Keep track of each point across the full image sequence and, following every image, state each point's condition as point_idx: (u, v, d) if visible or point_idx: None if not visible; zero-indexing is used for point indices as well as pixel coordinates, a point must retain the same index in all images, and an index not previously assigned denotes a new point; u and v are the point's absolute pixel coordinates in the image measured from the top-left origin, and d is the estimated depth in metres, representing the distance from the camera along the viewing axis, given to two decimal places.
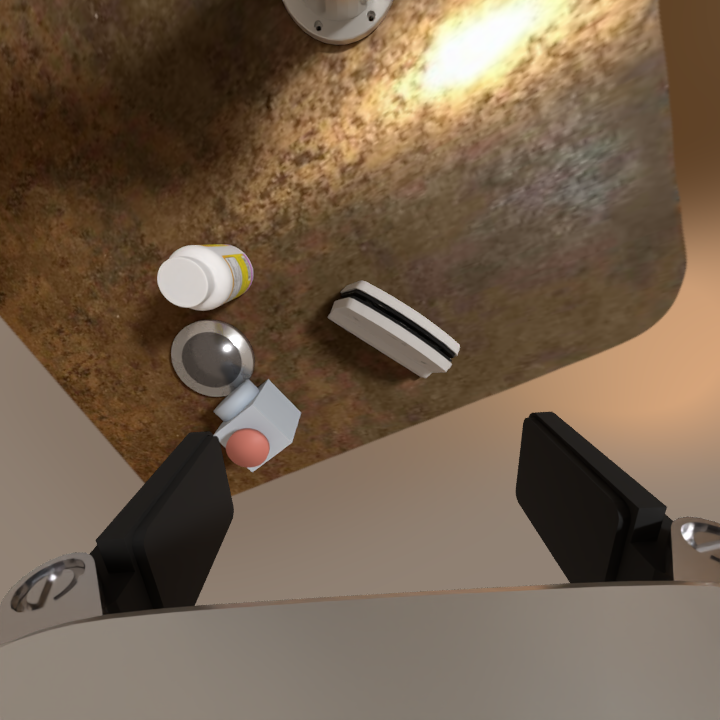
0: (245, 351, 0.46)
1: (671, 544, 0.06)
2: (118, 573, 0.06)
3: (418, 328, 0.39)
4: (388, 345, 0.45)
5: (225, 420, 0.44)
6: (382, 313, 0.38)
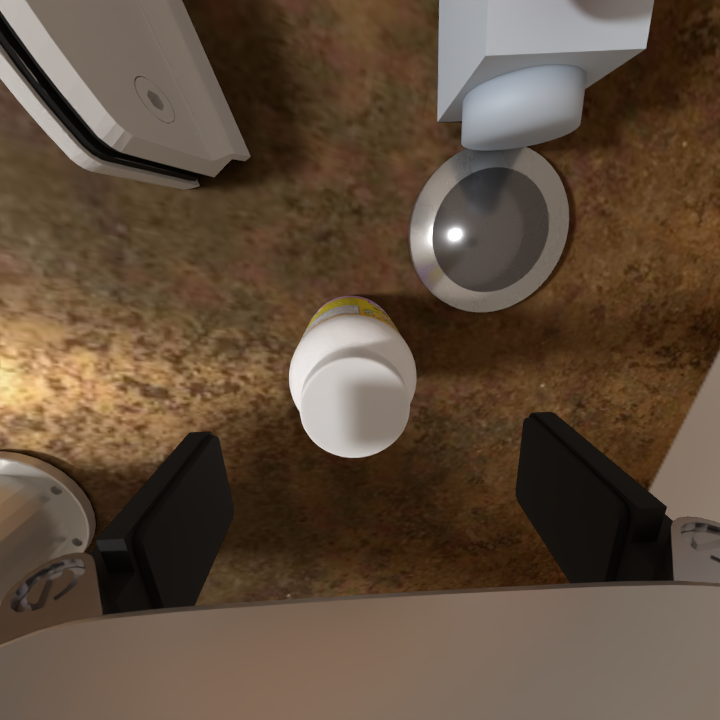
0: (426, 205, 0.23)
1: (671, 544, 0.06)
2: (118, 573, 0.06)
3: None
4: None
5: (580, 75, 0.16)
6: (24, 45, 0.14)
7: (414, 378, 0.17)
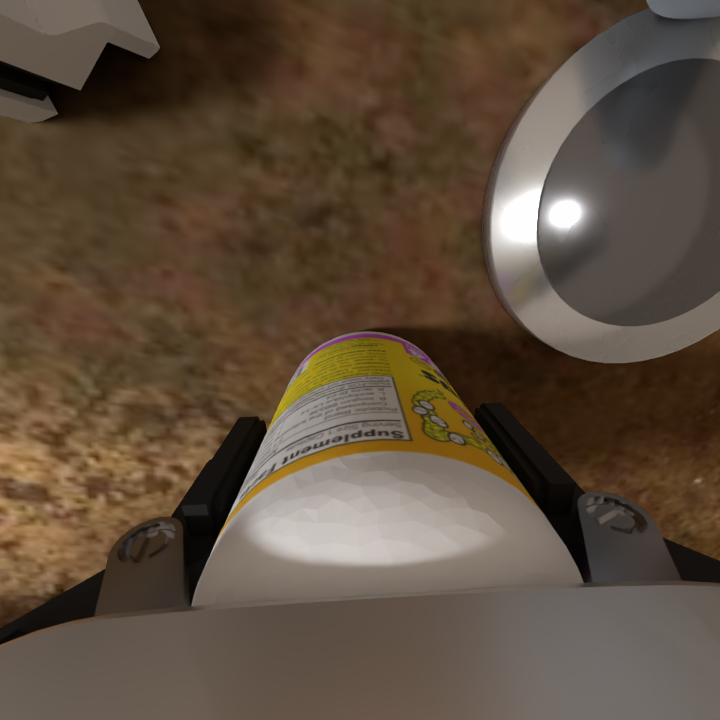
0: (531, 148, 0.11)
1: (580, 521, 0.06)
2: (199, 536, 0.07)
3: None
4: None
5: None
6: None
7: None
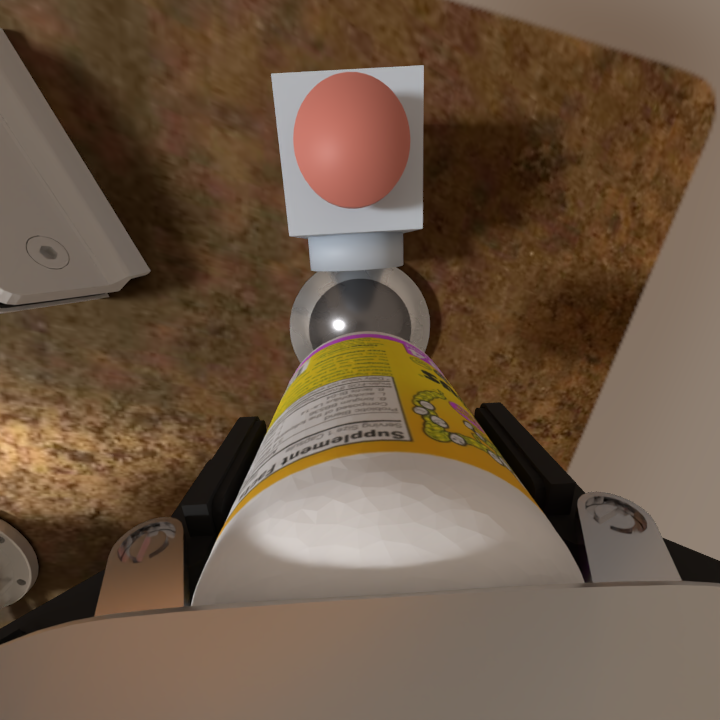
0: (301, 308, 0.26)
1: (580, 522, 0.06)
2: (199, 536, 0.07)
3: None
4: (28, 155, 0.21)
5: (385, 236, 0.19)
6: None
7: None
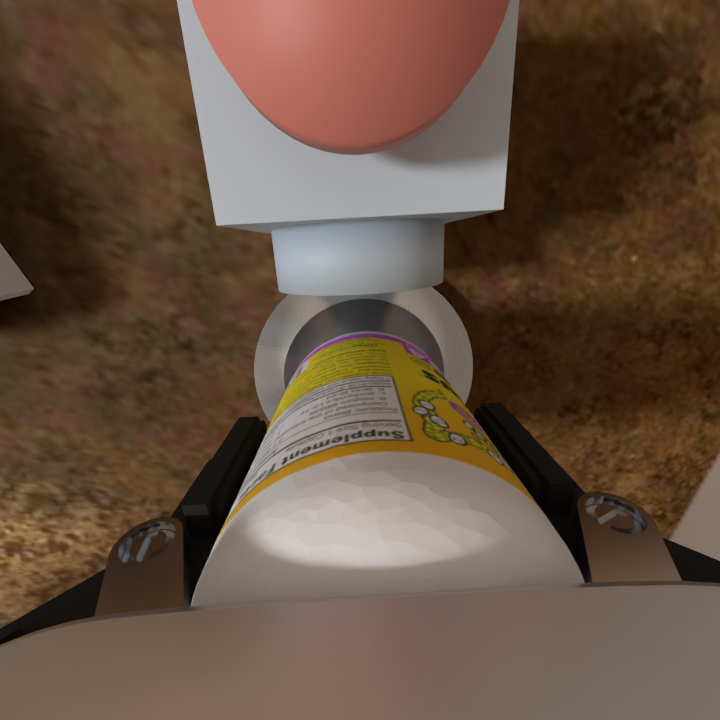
0: (272, 345, 0.17)
1: (580, 521, 0.06)
2: (199, 536, 0.07)
3: None
4: None
5: (418, 228, 0.10)
6: None
7: None
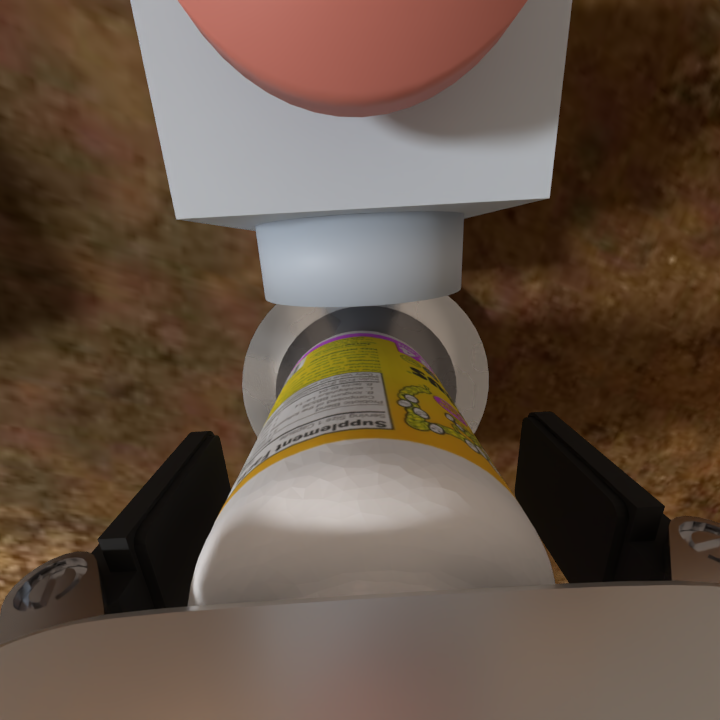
0: (262, 358, 0.15)
1: (669, 543, 0.06)
2: (120, 572, 0.06)
3: None
4: None
5: (434, 223, 0.08)
6: None
7: None
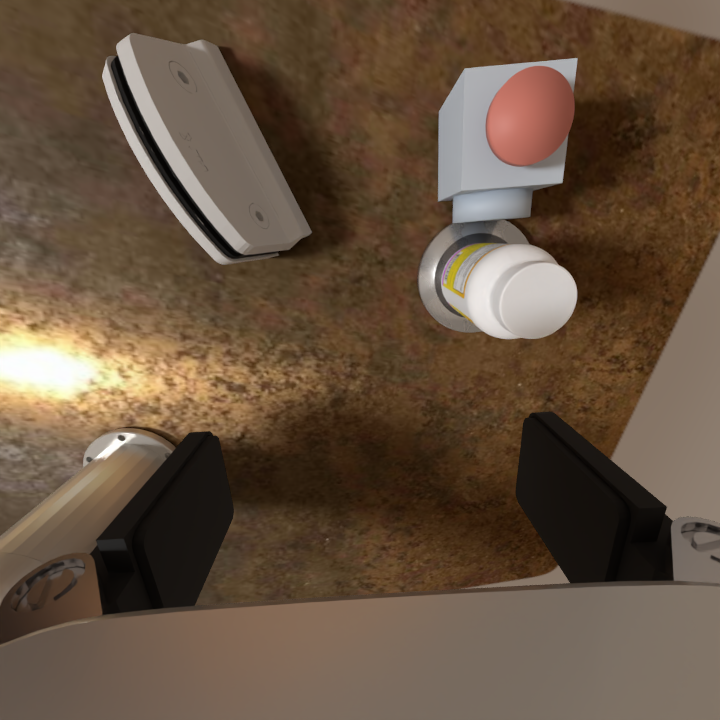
0: (430, 259, 0.32)
1: (671, 544, 0.06)
2: (118, 573, 0.06)
3: (152, 152, 0.23)
4: (239, 142, 0.28)
5: (526, 191, 0.25)
6: (199, 208, 0.25)
7: None
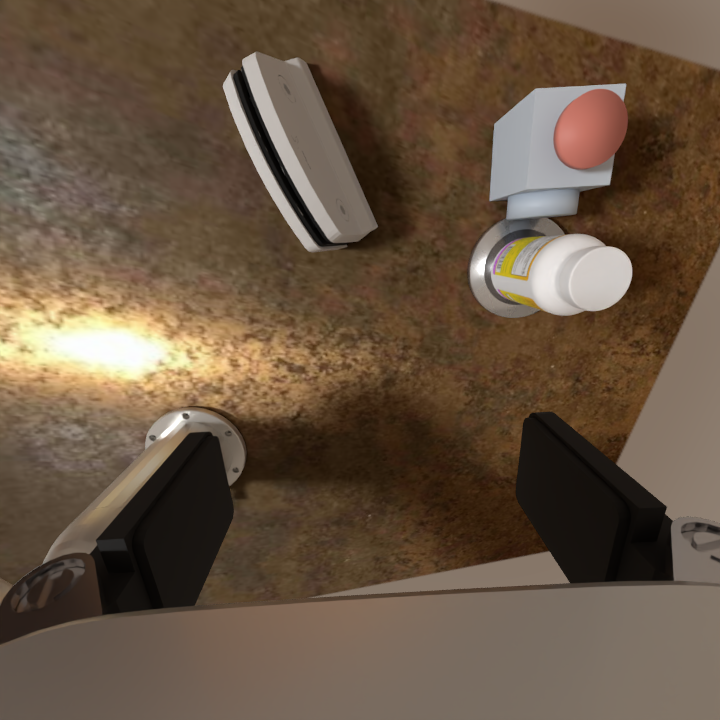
0: (481, 251, 0.37)
1: (671, 544, 0.06)
2: (118, 573, 0.06)
3: (266, 151, 0.27)
4: (324, 146, 0.32)
5: (576, 192, 0.30)
6: (302, 201, 0.28)
7: None
